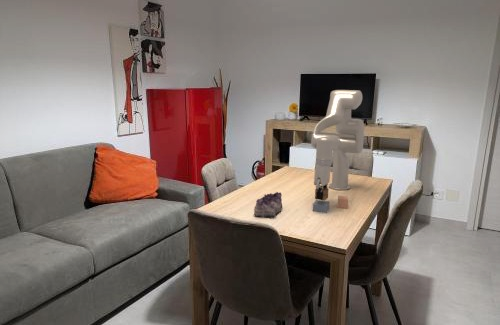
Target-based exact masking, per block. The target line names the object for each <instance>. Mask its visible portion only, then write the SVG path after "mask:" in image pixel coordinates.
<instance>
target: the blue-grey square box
mask: <svg viewBox="0 0 500 325" xmlns="http://www.w3.org/2000/svg"><path fill="white" fill-rule="evenodd" d="M314 200H315V201H314V202H313V203H312V212H316V213H323V214H327V213H328V211H329V210H330V203H331V202H330V201H327V200H325V201H324V200H318V199H314Z"/></svg>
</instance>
